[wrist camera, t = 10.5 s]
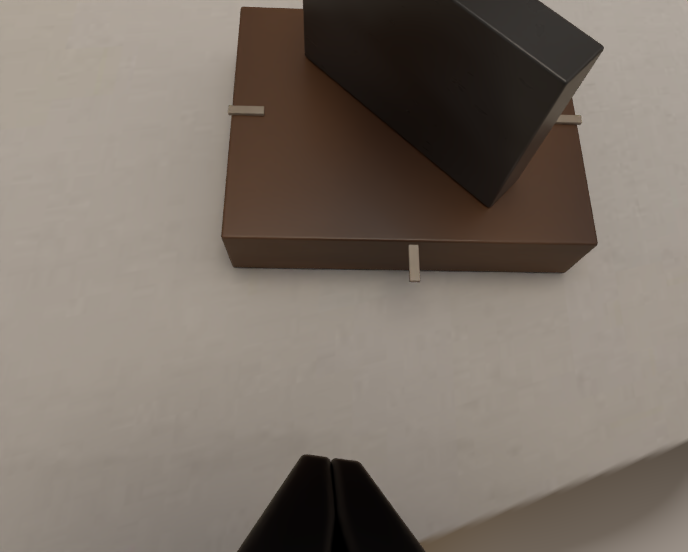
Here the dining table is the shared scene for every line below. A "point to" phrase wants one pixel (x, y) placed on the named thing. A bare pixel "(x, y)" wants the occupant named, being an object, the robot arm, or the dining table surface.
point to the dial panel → (376, 179)
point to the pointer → (456, 76)
